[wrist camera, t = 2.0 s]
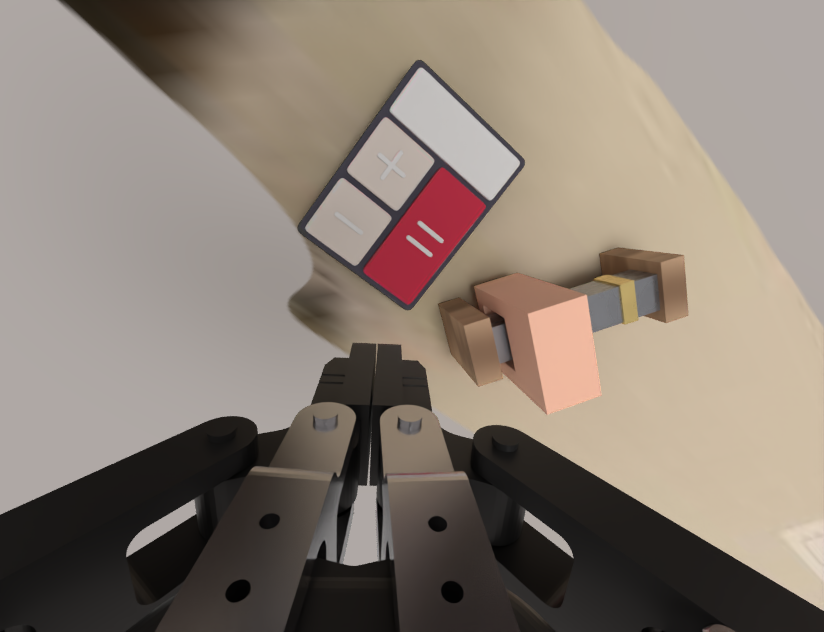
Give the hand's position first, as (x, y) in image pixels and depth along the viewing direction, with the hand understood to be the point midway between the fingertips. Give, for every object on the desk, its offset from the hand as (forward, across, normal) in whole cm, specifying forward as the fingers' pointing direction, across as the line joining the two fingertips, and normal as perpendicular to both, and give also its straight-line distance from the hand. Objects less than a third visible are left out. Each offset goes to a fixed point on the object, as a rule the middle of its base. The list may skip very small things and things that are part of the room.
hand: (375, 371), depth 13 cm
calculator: (+24, -1, -4) cm, 24 cm away
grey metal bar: (+20, -15, +4) cm, 25 cm away
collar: (+22, -10, +6) cm, 25 cm away
